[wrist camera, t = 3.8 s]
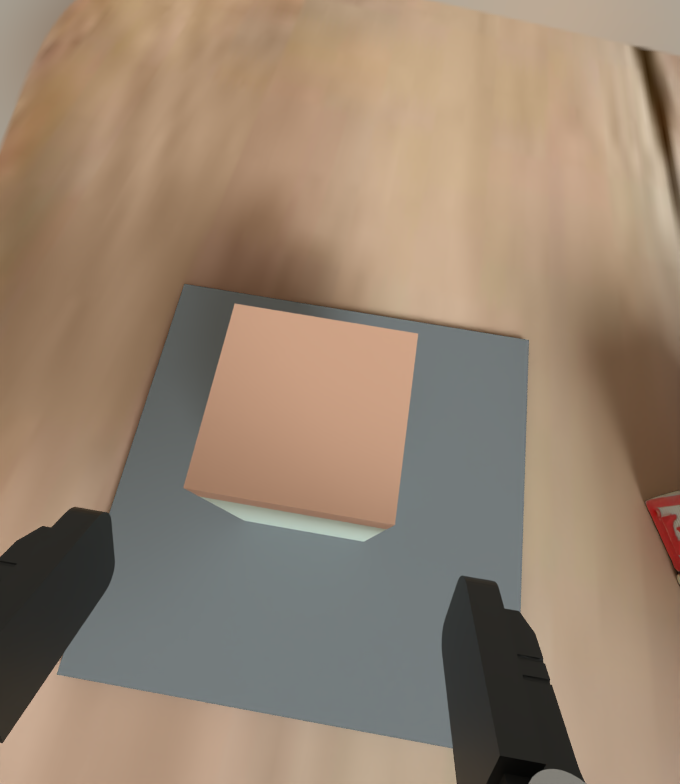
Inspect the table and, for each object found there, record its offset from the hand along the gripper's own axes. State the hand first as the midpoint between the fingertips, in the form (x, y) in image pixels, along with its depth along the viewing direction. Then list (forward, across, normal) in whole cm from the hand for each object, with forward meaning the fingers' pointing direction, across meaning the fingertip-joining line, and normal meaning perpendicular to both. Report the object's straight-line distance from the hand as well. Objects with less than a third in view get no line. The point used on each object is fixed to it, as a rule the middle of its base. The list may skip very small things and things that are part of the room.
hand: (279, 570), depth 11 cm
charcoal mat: (+9, 0, +4) cm, 10 cm away
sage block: (+9, 0, +3) cm, 10 cm away
